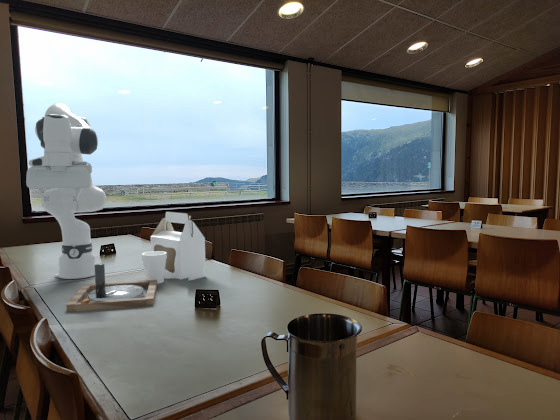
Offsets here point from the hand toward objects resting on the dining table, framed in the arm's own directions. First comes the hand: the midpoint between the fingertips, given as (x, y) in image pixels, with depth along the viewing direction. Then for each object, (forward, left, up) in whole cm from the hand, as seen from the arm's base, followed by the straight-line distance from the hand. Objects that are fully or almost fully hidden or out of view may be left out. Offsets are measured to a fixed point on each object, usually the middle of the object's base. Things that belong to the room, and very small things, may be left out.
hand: (61, 201), depth 144 cm
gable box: (-26, +39, -35) cm, 59 cm away
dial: (+7, +18, -34) cm, 39 cm away
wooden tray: (+7, +18, -35) cm, 40 cm away
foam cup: (-12, +30, -35) cm, 48 cm away
